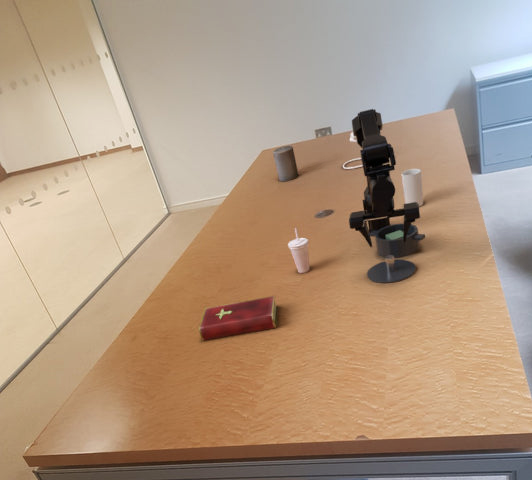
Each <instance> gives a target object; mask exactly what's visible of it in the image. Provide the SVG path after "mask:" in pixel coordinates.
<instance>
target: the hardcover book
mask: <svg viewBox="0 0 532 480" xmlns="http://www.w3.org/2000/svg"><path fill="white" fill-rule="evenodd" d="M278 312H279V306H278V305H277V304H276V295H275V294H274V295H268V296H263V297H257V298H252V299H247V300H242V301H235V302H231V303H225V304H220V305H216V306H215V305H214V306H210V307H205V308H204V309H203V313H202V316H201V319H200V323H199V326H198V332H199V336H200V338H201V340H202V341H208V340H214V339H220V338H224V337H231V336H237V335H244V334H247V333H248V334H249V333H254V332H260V331H264V330H265V331H266V330H271V329H275V328H277V325H278Z"/></svg>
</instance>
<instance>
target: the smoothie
mask: <svg viewBox="0 0 532 480" xmlns="http://www.w3.org/2000/svg"><path fill="white" fill-rule="evenodd" d="M294 232H295V238H294V239H292V240H290V241H289V242H288V243H287V247H288V249H289V250H290V253H291V255H292V258H293V261H294V263H295V266H296V269H297V272H298V273H300V274H304V273H307V272H309V271H310V270H311V267H310V255H309V254H310V253H309V239H307V238H305V237H299V234H298V229H297V227H294Z"/></svg>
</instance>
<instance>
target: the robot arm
mask: <svg viewBox="0 0 532 480" xmlns="http://www.w3.org/2000/svg"><path fill="white" fill-rule="evenodd" d="M351 128H352V132H353V135H354V136H356V138H355V140H357V142H356V143H357V145H358V146H359V147H360V148H361V149H360V150H359V151H360V158H361V159H360V160H361V165H363V166H362V169H363V175H364V177H366V185H367V186H366V187H365V189H364V191H363V199H362V208H363V209H362V210H358V211H353V212H351V213H350V214H349V218H348V224H349V229H351V230H355V231H356V232H359V233H360V234H361V235H362V236H363V238H364V239H365V241H366V242H367V245H368V246H369V247H370V248H372V247H373V243H372V238H371V237H372V236H370V234H369V233H371V232H372V231H373V230H375V231H378V230H380V229H381V228H384V227H386V226H389V225H391V220H390V219H391V218H397V217H403V223H404V228H403V240H404V243H405V241H406V237H407V233H408V230H409V228H410V225H411V224H412V223H415V222H416V220H418V219H421V213H420V206H419V204H418V203H417V202H413V203H407V204H405V203H403V208H397V209H395V199H394V197H395V195H396V187H395V185H394V182H393V179H392V177H391V172H392V171H395V170H396V169H395V166H396V165H397V161H396V156H395V150H394V147H393V146H392V144H391V143H388V140H387V137H386V136H385V135H381V131H383V120H382V113H381V112H377V111H376V109H375V108H371V109H366V110H362V111H359V112H358V113H357V116H355V117H354V118H353V119H352V120H351ZM355 231H354V232H355Z"/></svg>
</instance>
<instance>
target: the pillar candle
mask: <svg viewBox="0 0 532 480" xmlns="http://www.w3.org/2000/svg"><path fill="white" fill-rule="evenodd" d="M294 151H295V150H294V146H292V145H285V146H281V147H278V148H275V149H274V150H273V151H272V154H273V159H274V163H275V167H276V172H277V175H278V180H279V181H280V182H288V181H293V180H294V179H297V178H299V175H300V174H299V171H298V166H297V162H296V156H295V152H294Z"/></svg>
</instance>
